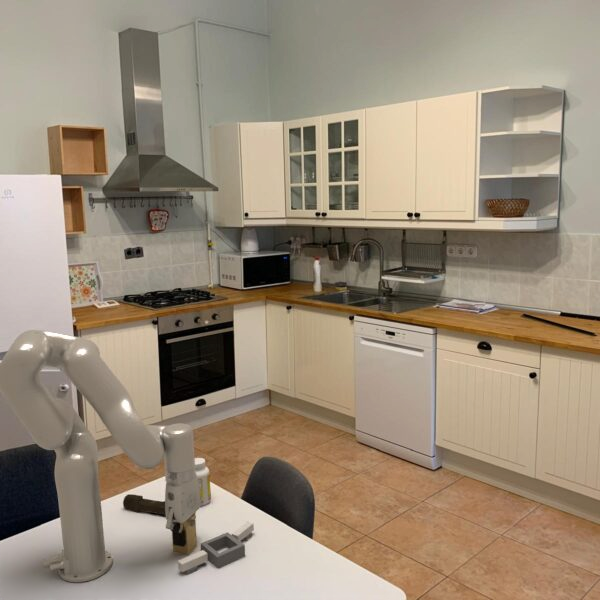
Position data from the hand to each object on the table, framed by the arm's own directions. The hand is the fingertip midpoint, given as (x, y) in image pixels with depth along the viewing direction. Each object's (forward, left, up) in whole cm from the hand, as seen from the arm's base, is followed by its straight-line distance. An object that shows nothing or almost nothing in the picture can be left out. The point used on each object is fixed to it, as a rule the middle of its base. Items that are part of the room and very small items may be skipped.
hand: (184, 539), depth 162 cm
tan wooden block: (0, 0, -3) cm, 3 cm away
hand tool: (-4, +23, -3) cm, 23 cm away
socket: (+8, -7, -3) cm, 11 cm away
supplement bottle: (+10, +23, -3) cm, 25 cm away
